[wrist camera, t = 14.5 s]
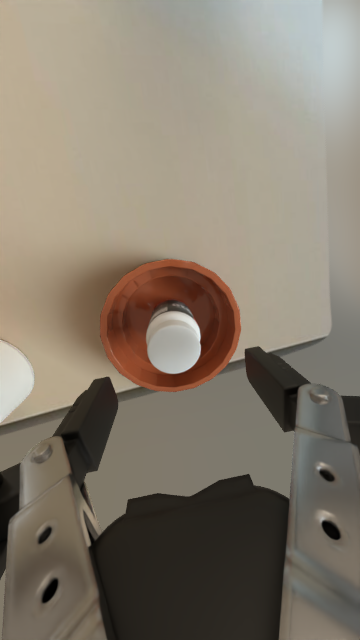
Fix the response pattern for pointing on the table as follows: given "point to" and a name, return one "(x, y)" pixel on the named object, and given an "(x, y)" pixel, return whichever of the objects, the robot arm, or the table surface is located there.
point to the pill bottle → (173, 337)
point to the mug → (13, 378)
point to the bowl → (136, 309)
